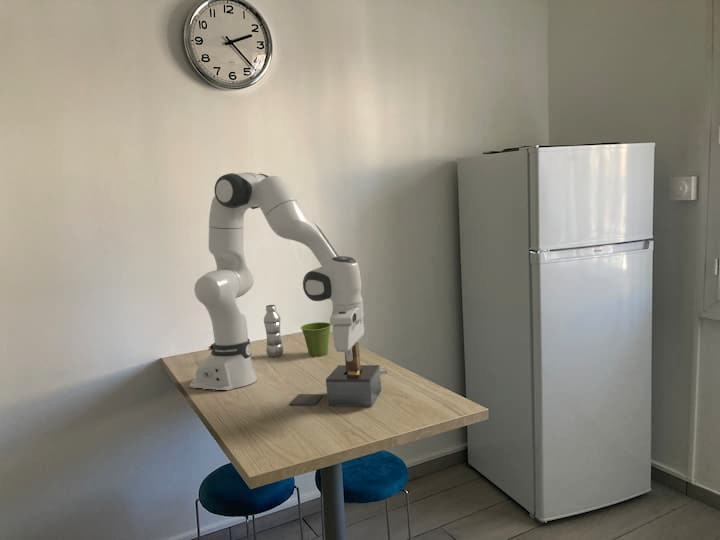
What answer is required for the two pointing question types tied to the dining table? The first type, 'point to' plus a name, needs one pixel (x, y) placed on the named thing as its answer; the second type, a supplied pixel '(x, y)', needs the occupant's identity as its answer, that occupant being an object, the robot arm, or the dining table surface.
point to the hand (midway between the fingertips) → (352, 358)
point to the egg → (353, 373)
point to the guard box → (354, 386)
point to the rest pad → (306, 399)
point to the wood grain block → (354, 360)
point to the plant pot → (317, 337)
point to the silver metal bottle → (273, 332)
